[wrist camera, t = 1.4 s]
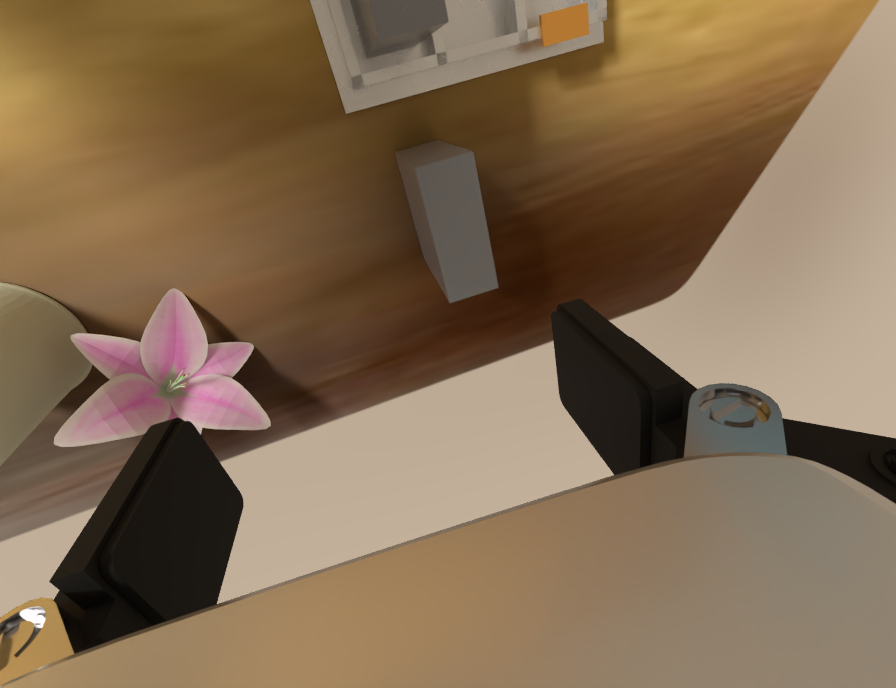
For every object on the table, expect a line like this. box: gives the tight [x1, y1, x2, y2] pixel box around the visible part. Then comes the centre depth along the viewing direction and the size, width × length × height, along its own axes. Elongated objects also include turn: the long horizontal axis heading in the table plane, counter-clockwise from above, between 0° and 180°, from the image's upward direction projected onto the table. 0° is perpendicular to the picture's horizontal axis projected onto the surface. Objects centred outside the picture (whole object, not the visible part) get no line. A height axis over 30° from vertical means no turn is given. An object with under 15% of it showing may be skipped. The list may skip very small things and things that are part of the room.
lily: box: [54, 288, 271, 447], centre depth 30 cm, size 12×12×10 cm
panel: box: [395, 140, 499, 303], centre depth 28 cm, size 8×3×9 cm, turn 14°
